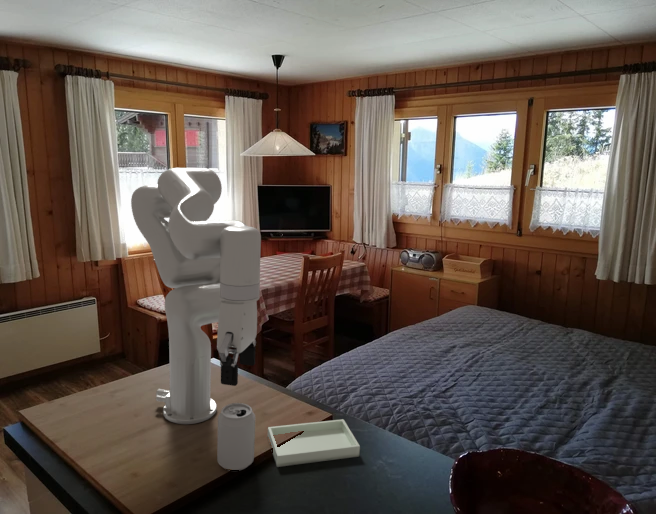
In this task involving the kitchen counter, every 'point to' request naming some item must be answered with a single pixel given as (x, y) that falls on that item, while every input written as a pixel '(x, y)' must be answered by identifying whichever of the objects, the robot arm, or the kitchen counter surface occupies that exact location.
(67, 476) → the kitchen counter surface
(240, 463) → the can
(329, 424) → the tray
